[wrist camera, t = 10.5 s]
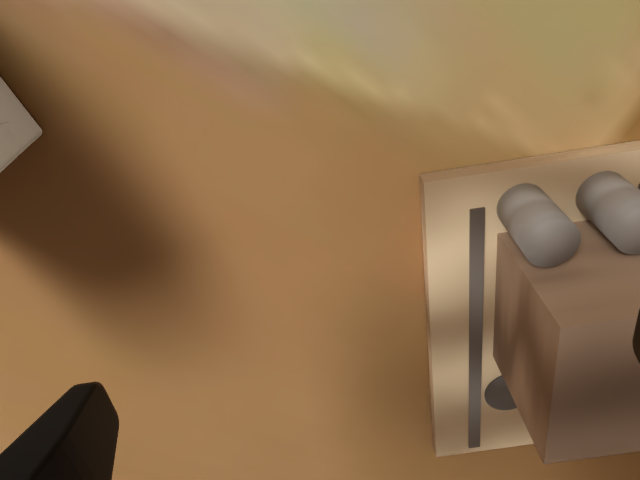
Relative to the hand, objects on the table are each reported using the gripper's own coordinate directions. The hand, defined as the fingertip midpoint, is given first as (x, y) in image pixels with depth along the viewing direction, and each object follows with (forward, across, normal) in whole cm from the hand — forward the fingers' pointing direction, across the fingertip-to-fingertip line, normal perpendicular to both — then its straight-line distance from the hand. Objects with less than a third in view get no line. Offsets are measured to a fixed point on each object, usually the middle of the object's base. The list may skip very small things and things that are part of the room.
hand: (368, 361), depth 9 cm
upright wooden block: (+12, -9, +9) cm, 18 cm away
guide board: (+13, -9, +12) cm, 20 cm away
